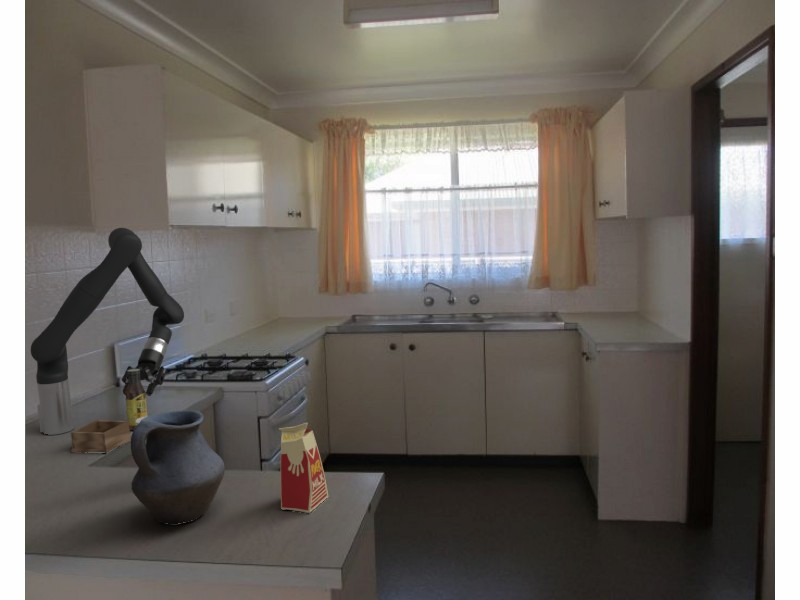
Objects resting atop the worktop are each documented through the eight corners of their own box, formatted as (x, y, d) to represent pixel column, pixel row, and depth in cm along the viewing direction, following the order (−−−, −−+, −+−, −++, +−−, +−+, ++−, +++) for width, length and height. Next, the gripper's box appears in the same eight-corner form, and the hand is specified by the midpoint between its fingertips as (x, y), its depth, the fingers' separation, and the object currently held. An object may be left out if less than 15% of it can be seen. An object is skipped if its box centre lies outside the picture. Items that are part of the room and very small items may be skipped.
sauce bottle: (141, 431, 215) (135, 372, 212) (124, 431, 216) (118, 372, 213) (152, 425, 221) (146, 367, 218) (136, 424, 222) (130, 367, 220)
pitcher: (246, 503, 156) (238, 402, 153) (182, 546, 137) (171, 431, 133) (179, 491, 165) (170, 395, 162) (110, 531, 145) (98, 423, 142)
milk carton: (328, 497, 157) (323, 417, 155) (311, 514, 149) (305, 429, 146) (294, 493, 160) (289, 415, 158) (276, 510, 152) (269, 427, 149)
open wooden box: (71, 452, 198) (68, 432, 197) (98, 438, 210) (96, 419, 209) (106, 454, 195) (104, 434, 194) (132, 439, 207) (130, 420, 206)
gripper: (129, 347, 226) (111, 388, 216) (166, 347, 223) (150, 389, 213) (140, 359, 232) (123, 399, 222) (176, 359, 228) (161, 400, 219)
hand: (136, 394), depth 218 cm, fingers open, 8 cm apart
